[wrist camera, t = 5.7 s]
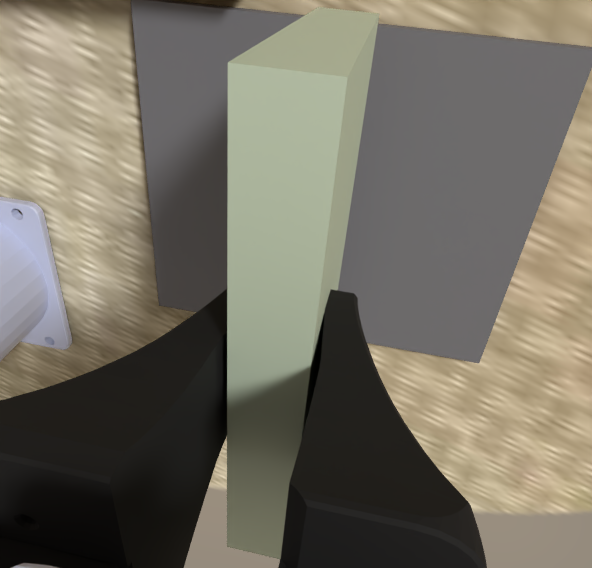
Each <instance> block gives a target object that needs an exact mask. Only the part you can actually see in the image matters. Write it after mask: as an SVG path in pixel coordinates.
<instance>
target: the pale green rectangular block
mask: <svg viewBox="0 0 592 568" xmlns="http://www.w3.org/2000/svg"><path fill="white" fill-rule="evenodd" d="M378 20H379V14H378V13H368V12H359V11H350V10H341V9H331V8H322V7H318V8H316V9H315V10H313V11H311V12H310V13H308V14H306V15H305V16H303V17H301V18H300V19H298V20H297V21H295V22H293V23H292V24H290V25H288V26H287V27H285V28H283V29H282V30H280V31H278V32H277V33H275V34H274V35H272V36H270V37H269V38H267V39H265V40H264V41H262V42H260V43H259V44H257V45H255V46H254V47H252V48H251V49H249V50H247V51H246V52H244V53H242V54H241V55H239V56H237V57H236V58H234V59H233V60H231V61H229V62H228V211H227V547H230V548H235V549H239V550H243V551H248V552H252V553H256V554H261V555H265V556H269V557H273V558H277V559H281V550H282V542H283V533H284V525H285V516H286V507H287V499H288V490H289V482H290V479H291V475H292V472H293V469H294V465H295V461H296V458H297V454H298V451H299V447H300V444H301V440H302V436H303V432H304V429H305V425H306V421H307V417H308V413H309V409H310V405H311V401H312V397H313V393H314V385H315V378H316V371H317V364H318V356H319V349H320V342H321V335H322V327H323V320H324V313H325V307H326V304H327V300H328V297H329V294H330V290H331V289H332V290H338V285H339V279H340V272H341V265H342V259H343V252H344V246H345V239H346V232H347V226H348V219H349V212H350V206H351V199H352V192H353V186H354V179H355V173H356V166H357V159H358V153H359V146H360V139H361V133H362V126H363V120H364V113H365V106H366V100H367V93H368V86H369V80H370V73H371V67H372V60H373V53H374V47H375V40H376V33H377V27H378Z"/></svg>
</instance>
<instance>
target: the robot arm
mask: <svg viewBox="0 0 592 568" xmlns="http://www.w3.org/2000/svg"><path fill="white" fill-rule="evenodd" d="M17 209H19V210H20V211H21V212H22V214H23V215H21V214H20V213H19V211H18V210H17ZM19 342H25V343H30V344H35V345H40V346H45V347H51V348H56V349H61V350H65V349H68V348H69V346H70V345H71V344H72V336H71V332H70V327H69V323H68V319H67V314H66V310H65V305H64V301H63V296H62V292H61V287H60V283H59V278H58V274H57V269H56V265H55V261H54V256H53V252H52V247H51V243H50V238H49V234H48V229H47V225H46V220H45V216H44V213H43V210H42V209H41V208H40V206H38V205H37V204H36V203H33V202H30V201H24V200H18V199H11V198H5V197H0V361H1V360H2V359H3V358H4V357H5V356H6V355H7V354H8V353H9V352H10V351H11V350H12V349H13V348H14V347H15V346H16V345H17V344H18V343H19ZM226 436H227V289H226V290H224V291H223V292H222V293H221V294H219V295H218V296H217V297H216V298H215V299H213V300H212V301H211V302H210V303H208V304H207V305H206V306H204V307H203V308H202V309H200V310H199V311H198V312H197V313H195V314H194V315H193V316H191V317H190V318H188V319H187V320H186V321H184V322H183V323H181V324H180V325H178V326H177V327H175V328H174V329H172V330H171V331H169V332H168V333H166V334H165V335H163V336H162V337H160V338H158V339H157V340H155V341H153V342H152V343H150V344H148V345H146V346H144V347H143V348H141V349H139V350H137V351H135V352H133V353H131V354H129V355H127V356H125V357H123V358H120V359H118V360H116V361H114V362H112V363H109V364H107V365H105V366H103V367H101V368H99V369H96V370H94V371H91V372H89V373H86V374H84V375H81V376H78V377H76V378H73V379H70V380H67V381H65V382H62V383H59V384H56V385H53V386H50V387H47V388H44V389H40V390H37V391H33V392H30V393H26V394H23V395H19V396H16V397H12V398H9V399H5V400H1V401H0V568H184V564H185V561H186V557H187V554H188V551H189V547H190V543H191V540H192V537H193V534H194V530H195V527H196V524H197V521H198V518H199V514H200V511H201V508H202V505H203V501H204V498H205V495H206V492H207V489H208V486H209V483H210V480H211V477H212V473H213V470H214V467H215V464H216V461H217V458H218V456H219V453H220V451H221V448H222V446H223V443H224V441H225V439H226ZM279 568H487V566H486V559H485V555H484V551H483V546H482V542H481V538H480V535H479V530H478V527H477V524H476V521H475V518H474V514H473V511H472V509H471V506H470V504H469V503H468V501H467V500H466V499H465V498H464V497H463V496H462V495H461V494H460V493H459V492H458V491H457V489H456V488H455V487H454V486H453V485H452V484H451V483H450V482H449V481H448V480H447V479H446V478H445V476H444V475H443V474H442V473H441V472H440V471H439V469H438V468H437V467H436V466H435V464H434V463H433V462H432V461H431V459H430V458H429V457H428V455H427V454H426V453H425V452H424V450H423V449H422V447H421V446H420V444H419V443H418V441H417V440H416V439H415V437H414V436H413V434H412V433H411V431H410V430H409V428H408V427H407V425H406V424H405V423H404V421H403V419H402V418H401V416H400V414H399V412H398V411H397V409H396V407H395V406H394V404H393V402H392V400H391V398H390V396H389V395H388V393H387V391H386V389H385V387H384V385H383V383H382V380H381V378H380V376H379V374H378V371H377V369H376V367H375V364H374V362H373V359H372V357H371V354H370V351H369V348H368V345H367V342H366V339H365V336H364V332H363V329H362V325H361V321H360V316H359V310H358V298H357V296H356V295H355V294H354V293H350V292H344V291H338V290H332V289H331V290H330V294H329V297H328V300H327V304H326V307H325V313H324V320H323V327H322V335H321V342H320V349H319V356H318V364H317V371H316V378H315V385H314V393H313V397H312V401H311V405H310V409H309V413H308V417H307V421H306V425H305V429H304V432H303V436H302V440H301V444H300V447H299V451H298V454H297V458H296V461H295V465H294V469H293V472H292V475H291V479H290V482H289V490H288V499H287V507H286V516H285V525H284V533H283V542H282V550H281V559H280V564H279Z"/></svg>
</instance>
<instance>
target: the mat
mask: <svg viewBox="0 0 592 568" xmlns="http://www.w3.org/2000/svg"><path fill="white" fill-rule="evenodd" d="M131 10H132V20H133V31H134V42H135V53H136V63H137V74H138V85H139V96H140V106H141V117H142V128H143V139H144V149H145V160H146V171H147V182H148V192H149V203H150V214H151V225H152V235H153V246H154V257H155V268H156V278H157V289H158V300H159V305H160V306H166V307H171V308H177V309H182V310H188V311H193V312H198V311H199V310H200V309H202V308H203V307H204V306H206V305H207V304H208V303H210V302H211V301H212V300H213V299H215V298H216V297H217V296H218V295H219V294H221V293H222V292H223V291H224V290H226V289H227V211H228V62H229V61H231V60H233V59H234V58H236V57H237V56H239V55H241V54H242V53H244V52H246V51H247V50H249V49H251V48H252V47H254V46H255V45H257V44H259V43H260V42H262V41H264V40H265V39H267V38H269V37H270V36H272V35H274V34H275V33H277V32H278V31H280V30H282V29H283V28H285V27H287V26H288V25H290V24H292V23H293V22H295V21H297V20H298V19H300V18H301V17H303V16H305V15H297V14H288V13H279V12H270V11H261V10H252V9H243V8H234V7H225V6H216V5H207V4H198V3H189V2H180V1H171V0H131ZM591 68H592V47H586V46H577V45H568V44H559V43H550V42H541V41H532V40H523V39H514V38H505V37H496V36H487V35H478V34H469V33H460V32H451V31H442V30H433V29H424V28H414V27H405V26H396V25H387V24H378V27H377V33H376V40H375V47H374V53H373V60H372V67H371V73H370V80H369V86H368V93H367V100H366V106H365V113H364V120H363V126H362V133H361V139H360V146H359V153H358V159H357V166H356V173H355V179H354V186H353V192H352V199H351V206H350V212H349V219H348V226H347V232H346V239H345V246H344V252H343V259H342V265H341V272H340V279H339V285H338V291H344V292H350V293H354V294H355V295H356V296H357V298H358V310H359V316H360V321H361V325H362V329H363V332H364V336H365V339H366V342H367V343H370V344H376V345H381V346H387V347H392V348H398V349H403V350H409V351H414V352H420V353H425V354H431V355H436V356H442V357H447V358H453V359H459V360H464V361H470V362H475V363H479V362H480V359H481V357H482V354H483V352H484V349H485V346H486V344H487V341H488V338H489V336H490V333H491V331H492V328H493V325H494V323H495V320H496V317H497V315H498V312H499V310H500V307H501V304H502V302H503V299H504V296H505V294H506V291H507V289H508V286H509V283H510V281H511V278H512V275H513V273H514V270H515V268H516V265H517V262H518V260H519V257H520V254H521V252H522V249H523V247H524V244H525V241H526V239H527V236H528V233H529V231H530V228H531V226H532V223H533V220H534V218H535V215H536V212H537V210H538V207H539V205H540V202H541V199H542V197H543V194H544V191H545V189H546V186H547V184H548V181H549V178H550V176H551V173H552V171H553V168H554V165H555V163H556V160H557V157H558V155H559V152H560V150H561V147H562V144H563V142H564V139H565V136H566V134H567V131H568V129H569V126H570V123H571V121H572V118H573V115H574V113H575V110H576V108H577V105H578V102H579V100H580V97H581V94H582V92H583V89H584V87H585V84H586V81H587V79H588V76H589V73H590V71H591Z"/></svg>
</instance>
